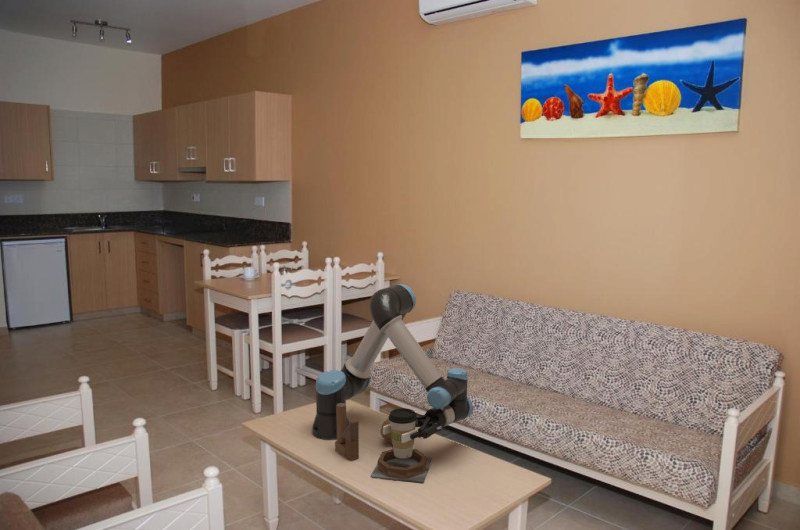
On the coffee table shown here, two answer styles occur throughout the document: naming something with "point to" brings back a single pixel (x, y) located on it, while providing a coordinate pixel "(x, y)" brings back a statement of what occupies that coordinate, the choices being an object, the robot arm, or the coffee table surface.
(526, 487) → the coffee table surface
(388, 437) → the brown round lump
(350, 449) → the wooden block
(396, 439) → the coffee cup
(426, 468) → the cup collar
